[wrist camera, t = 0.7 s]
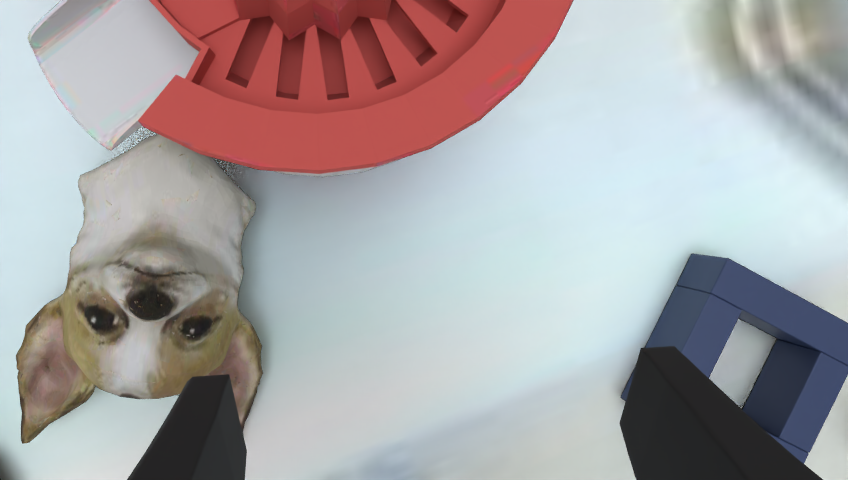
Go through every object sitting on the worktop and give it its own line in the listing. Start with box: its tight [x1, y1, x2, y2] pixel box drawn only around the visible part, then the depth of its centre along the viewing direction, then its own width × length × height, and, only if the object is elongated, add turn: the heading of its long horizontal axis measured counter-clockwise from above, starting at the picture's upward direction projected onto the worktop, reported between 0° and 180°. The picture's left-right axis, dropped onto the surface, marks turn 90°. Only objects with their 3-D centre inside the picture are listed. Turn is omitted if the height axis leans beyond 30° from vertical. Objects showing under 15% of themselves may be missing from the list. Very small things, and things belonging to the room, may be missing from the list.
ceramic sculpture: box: [16, 134, 263, 444], centre depth 29 cm, size 11×9×15 cm
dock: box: [621, 254, 848, 464], centre depth 36 cm, size 9×9×4 cm
